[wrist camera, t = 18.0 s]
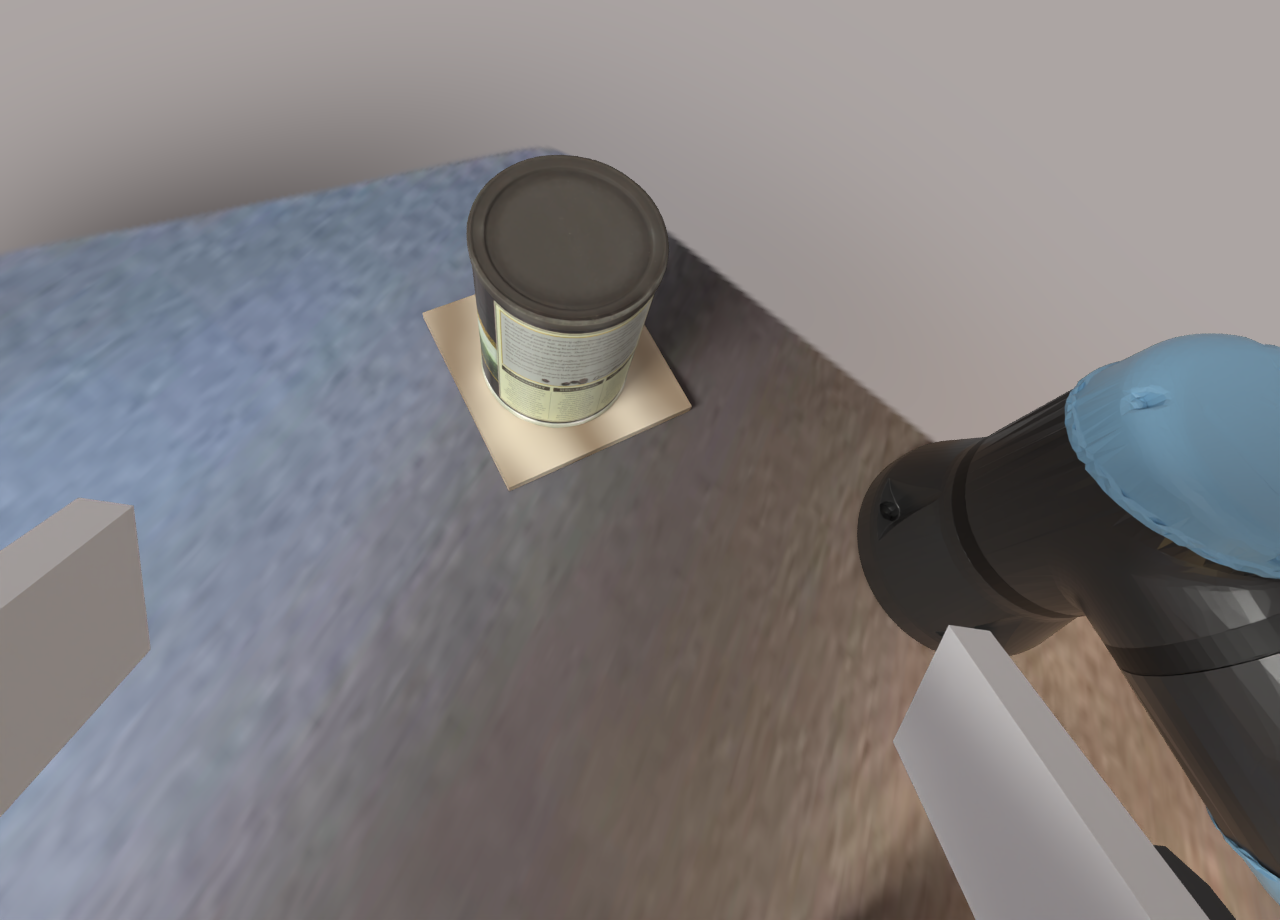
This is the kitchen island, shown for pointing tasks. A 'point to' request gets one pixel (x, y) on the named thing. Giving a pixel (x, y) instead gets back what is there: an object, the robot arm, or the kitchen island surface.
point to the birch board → (546, 449)
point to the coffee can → (562, 284)
